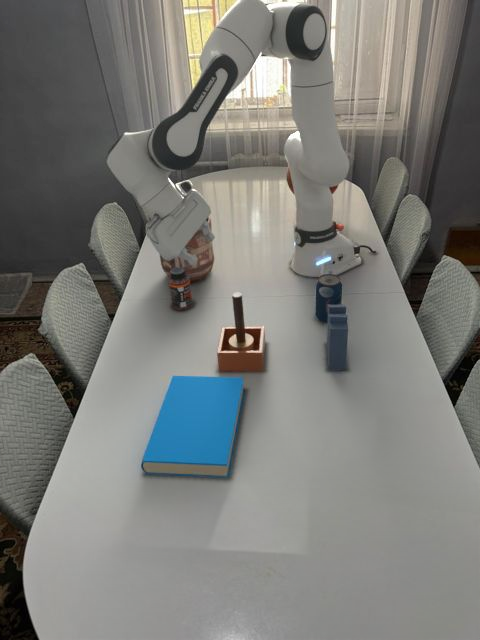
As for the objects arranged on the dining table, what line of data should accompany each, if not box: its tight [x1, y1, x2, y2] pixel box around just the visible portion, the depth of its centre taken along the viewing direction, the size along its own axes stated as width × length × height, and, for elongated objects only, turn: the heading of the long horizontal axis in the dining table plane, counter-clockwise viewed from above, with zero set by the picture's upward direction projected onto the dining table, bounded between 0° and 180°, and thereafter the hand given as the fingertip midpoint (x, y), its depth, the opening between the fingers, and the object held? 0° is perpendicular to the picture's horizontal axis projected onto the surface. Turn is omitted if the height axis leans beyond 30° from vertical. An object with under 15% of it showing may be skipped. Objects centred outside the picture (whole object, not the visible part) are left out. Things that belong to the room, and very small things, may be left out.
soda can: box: [314, 274, 344, 325], centre depth 135 cm, size 7×7×12 cm
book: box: [140, 375, 246, 479], centre depth 107 cm, size 17×4×25 cm
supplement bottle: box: [167, 267, 194, 311], centre depth 144 cm, size 6×6×11 cm
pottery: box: [158, 215, 215, 284], centre depth 156 cm, size 18×18×18 cm
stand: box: [326, 304, 349, 371], centre depth 121 cm, size 4×10×14 cm, turn 177°
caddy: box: [216, 326, 266, 372], centre depth 125 cm, size 11×11×6 cm
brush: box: [229, 291, 254, 351], centre depth 121 cm, size 15×6×15 cm
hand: (204, 251), depth 121 cm, fingers open, 8 cm apart
